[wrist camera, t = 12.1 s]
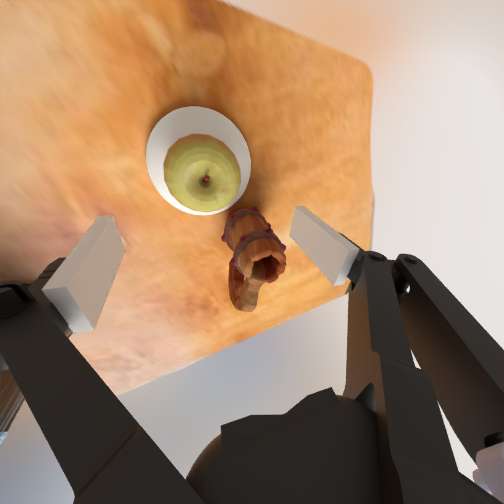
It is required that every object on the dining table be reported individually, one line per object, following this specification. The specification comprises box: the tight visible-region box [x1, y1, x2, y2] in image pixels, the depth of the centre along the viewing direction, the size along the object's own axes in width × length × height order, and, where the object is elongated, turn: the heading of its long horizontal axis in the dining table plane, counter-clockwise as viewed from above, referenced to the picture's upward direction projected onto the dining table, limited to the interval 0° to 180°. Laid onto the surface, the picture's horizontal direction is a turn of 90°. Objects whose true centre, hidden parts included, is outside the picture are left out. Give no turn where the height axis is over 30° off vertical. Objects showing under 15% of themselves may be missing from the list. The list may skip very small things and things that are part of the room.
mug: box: [221, 207, 286, 312], centre depth 33 cm, size 15×8×15 cm, turn 156°
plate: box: [146, 106, 251, 215], centre depth 30 cm, size 15×15×1 cm
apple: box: [163, 134, 241, 213], centre depth 26 cm, size 10×10×8 cm
